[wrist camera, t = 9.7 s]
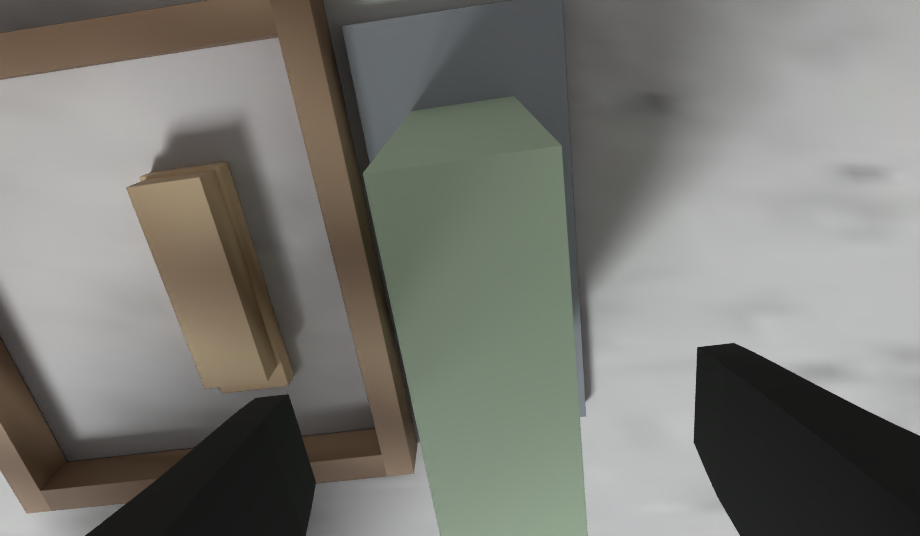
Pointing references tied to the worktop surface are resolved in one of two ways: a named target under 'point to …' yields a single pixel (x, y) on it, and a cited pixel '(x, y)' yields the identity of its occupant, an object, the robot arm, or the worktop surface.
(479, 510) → the board
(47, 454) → the brown flat square frame
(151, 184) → the offcut stack
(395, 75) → the slate mat
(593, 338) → the worktop surface
